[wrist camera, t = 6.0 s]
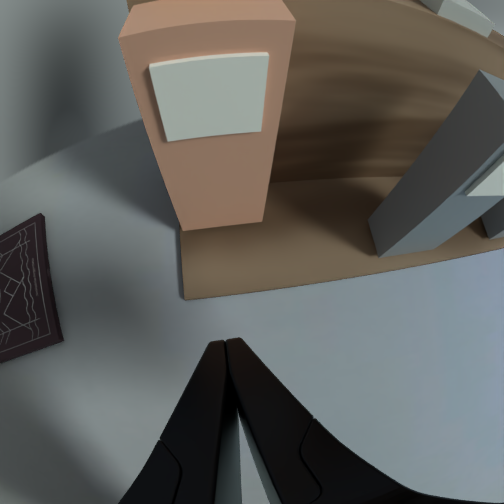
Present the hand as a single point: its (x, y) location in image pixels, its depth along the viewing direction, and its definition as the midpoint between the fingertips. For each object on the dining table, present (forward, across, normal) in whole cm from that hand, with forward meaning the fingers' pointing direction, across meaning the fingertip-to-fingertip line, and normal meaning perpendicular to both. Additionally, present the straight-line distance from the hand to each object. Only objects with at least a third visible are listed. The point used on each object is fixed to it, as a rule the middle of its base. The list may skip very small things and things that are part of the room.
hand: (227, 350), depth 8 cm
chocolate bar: (+9, +20, +3) cm, 22 cm away
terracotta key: (+11, 0, 0) cm, 11 cm away
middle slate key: (+9, -11, +2) cm, 14 cm away
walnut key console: (+11, -11, 0) cm, 16 cm away
